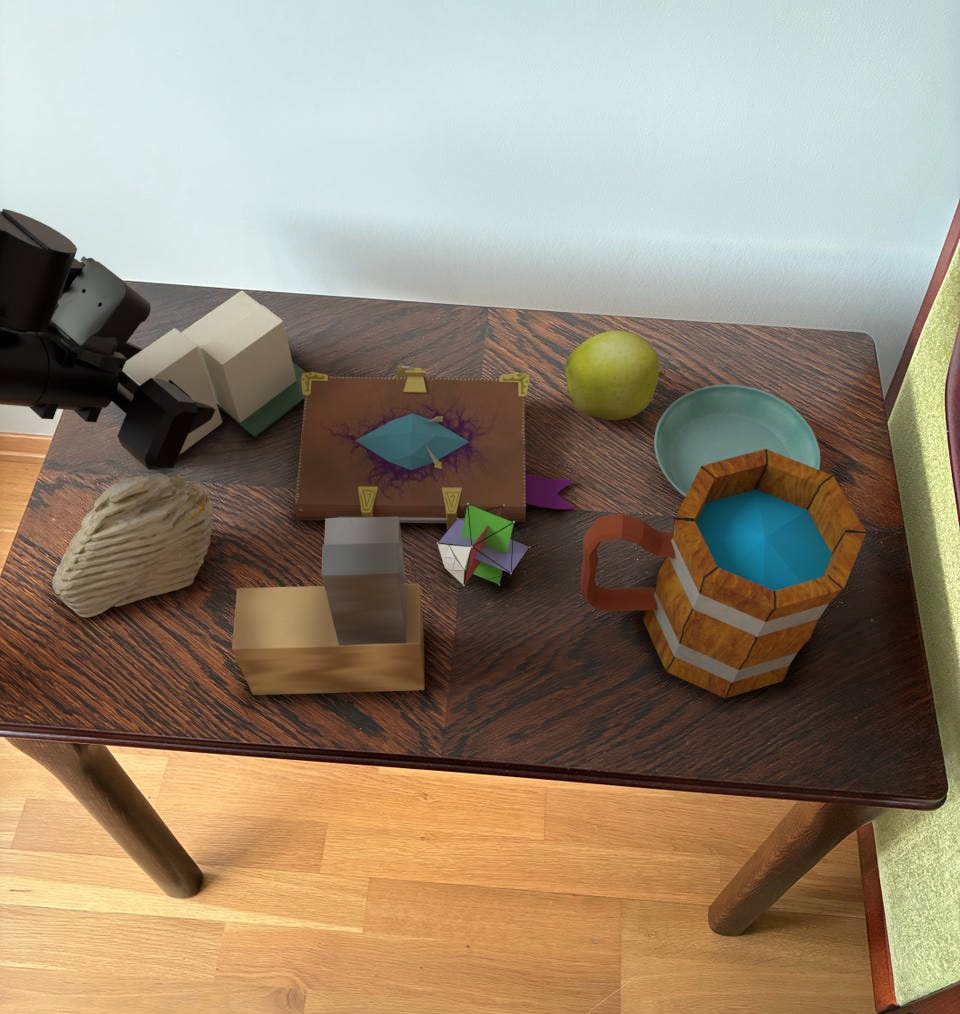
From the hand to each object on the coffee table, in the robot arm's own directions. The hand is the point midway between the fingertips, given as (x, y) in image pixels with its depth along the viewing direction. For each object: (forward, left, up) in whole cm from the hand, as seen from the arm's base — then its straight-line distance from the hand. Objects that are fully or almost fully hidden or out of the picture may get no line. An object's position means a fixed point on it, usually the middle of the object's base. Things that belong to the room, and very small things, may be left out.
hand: (178, 384), depth 89 cm
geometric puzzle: (+14, -27, -6) cm, 31 cm away
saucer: (+39, -31, -6) cm, 50 cm away
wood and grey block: (-1, -28, -6) cm, 29 cm away
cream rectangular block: (-1, 0, -6) cm, 6 cm away
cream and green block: (+7, +1, -6) cm, 9 cm away
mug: (+25, -41, -6) cm, 48 cm away
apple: (+34, -19, -6) cm, 39 cm away
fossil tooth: (-10, -12, -6) cm, 17 cm away
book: (+17, -15, -6) cm, 24 cm away
